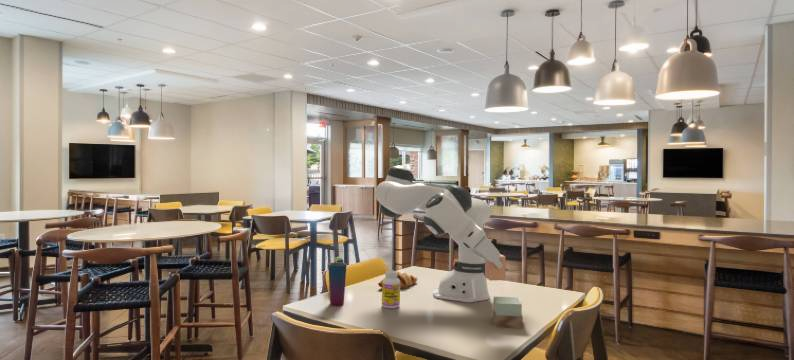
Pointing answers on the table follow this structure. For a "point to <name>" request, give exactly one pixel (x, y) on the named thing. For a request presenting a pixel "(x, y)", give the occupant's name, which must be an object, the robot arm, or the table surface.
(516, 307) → the tower top
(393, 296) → the supplement bottle
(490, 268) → the terracotta block
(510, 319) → the tower base
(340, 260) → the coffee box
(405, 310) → the table surface
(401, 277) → the croissant
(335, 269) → the cup
